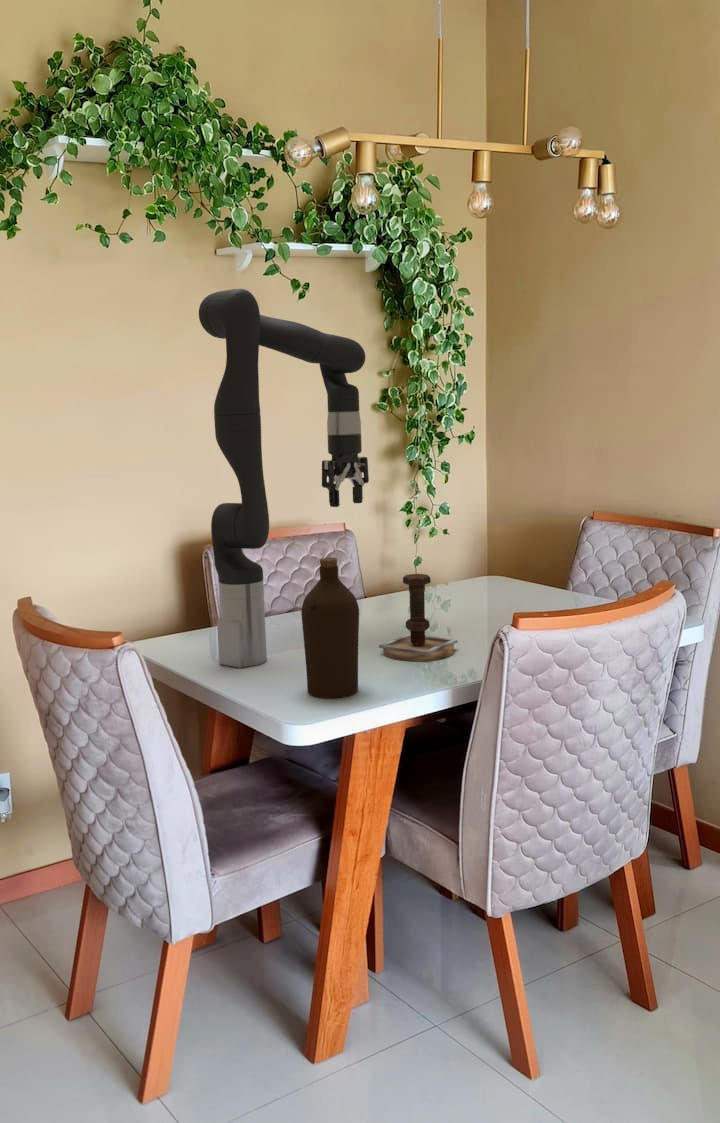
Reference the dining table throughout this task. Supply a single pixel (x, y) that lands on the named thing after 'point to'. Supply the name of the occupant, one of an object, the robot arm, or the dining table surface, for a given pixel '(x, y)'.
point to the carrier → (418, 649)
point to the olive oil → (331, 635)
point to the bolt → (417, 607)
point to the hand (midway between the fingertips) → (346, 504)
